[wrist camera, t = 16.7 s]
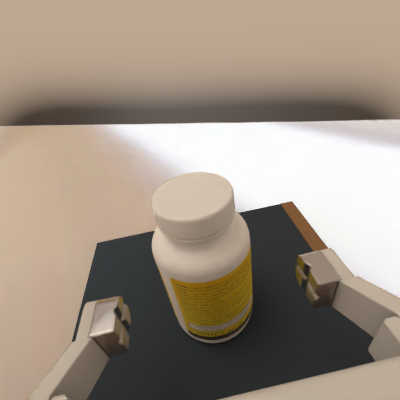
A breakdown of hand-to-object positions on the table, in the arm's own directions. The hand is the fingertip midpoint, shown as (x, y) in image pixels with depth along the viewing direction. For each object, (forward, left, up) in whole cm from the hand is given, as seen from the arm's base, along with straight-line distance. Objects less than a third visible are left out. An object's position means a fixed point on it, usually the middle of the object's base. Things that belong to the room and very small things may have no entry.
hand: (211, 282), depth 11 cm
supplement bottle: (0, +3, -7) cm, 7 cm away
